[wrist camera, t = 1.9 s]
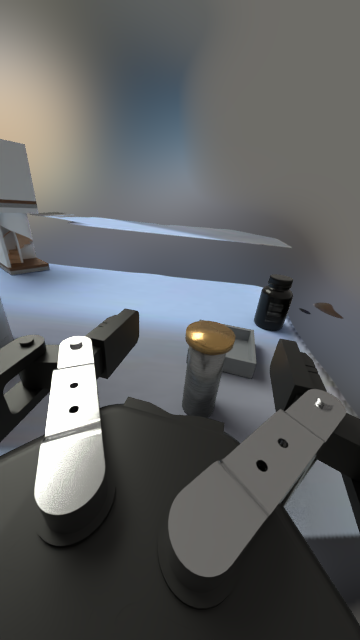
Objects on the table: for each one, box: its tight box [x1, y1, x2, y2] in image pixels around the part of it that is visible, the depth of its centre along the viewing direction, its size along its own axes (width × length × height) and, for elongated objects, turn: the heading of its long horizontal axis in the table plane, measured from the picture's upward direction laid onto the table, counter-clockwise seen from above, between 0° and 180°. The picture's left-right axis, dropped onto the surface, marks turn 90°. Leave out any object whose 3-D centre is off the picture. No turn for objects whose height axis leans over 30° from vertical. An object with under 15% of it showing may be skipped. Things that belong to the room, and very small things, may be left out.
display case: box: [0, 139, 49, 275], centre depth 68 cm, size 11×11×35 cm
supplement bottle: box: [254, 275, 293, 331], centre depth 52 cm, size 7×7×12 cm
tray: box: [187, 320, 256, 378], centre depth 42 cm, size 11×11×3 cm
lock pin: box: [182, 321, 235, 418], centre depth 28 cm, size 6×6×12 cm
